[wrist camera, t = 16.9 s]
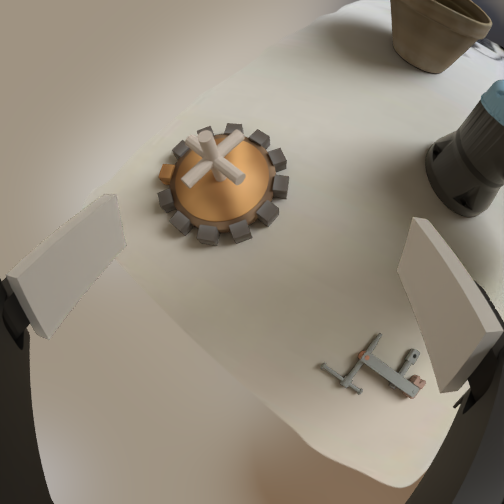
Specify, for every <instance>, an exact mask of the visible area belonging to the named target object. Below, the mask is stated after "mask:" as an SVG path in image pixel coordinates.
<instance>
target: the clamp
mask: <svg viewBox="0 0 504 504" xmlns="http://www.w3.org/2000/svg"><path fill="white" fill-rule="evenodd" d="M381 336H382V334H381V333H379V334H378V336H377V337H376V339H375V340H373V341H372V343H371V344H370V346H369V347H368V349H367V350H366V351H361V352H360V353H359V355H358V358H359V359H360V360H359V361H358V362H357V364H356V365H355V367H354V368H353V369H352V370H351V372H350V373H349V374H348V376H346V375H345V377H344V378H343V377H342V376H340V375H339V374H337V373H336V372H335V371H333V370H332V369H330V368H329V367H328V366H326V363H323V364H322V365H321V369H323V368H324V369H325V370H327V371H328V372H329V373H331V374H332V375H334V376H335V377H336V378H338V379H339V380H341V382H340V384H341V385H342V386H344V387H345V388H347V387H348V386H349V387H351V388H352V389H354V390H355V391H357V394H358V395H359V394H361V393H362V391H363V389H359V388H357V387H356V386H355V385H353V384H352V383H351V382H352V381H353V380H351V379H352V378H353V377H354V375H355V374H356V373H357V371H358V370H359V369H360V367H361V366H362V365H363V363H365V364H366V365H368V366H369V367H370V368H372V369H373V370H375V371H376V372H377V373H379V374H380V375H381V376H382V377H383V378H385V379H386V380H388V381H389V382H390V384H389V386H390V387H391V388H393V389H396V387H397V388H399V389H400V390H402V391H403V394H404V395H406V396H407V397H409V398H411V399H413V398H415V396H416V395H417V394H418V392H419V391H420V389H422V388H423V387H424V385H425V384H426V381H425V380H422V379H420V376H417V375H413V376H412V377H411V379H410V380H409V381H408V380H407V379H405V378H404V377H403V376H404V375H405V373H406V372H407V370H408V369H409V367H410V366H411V364H413V365H414V363H415V362H416V360H417V358H418V357H419V355H420V352H419V351H418V350H416V349H411V351H410V352H409V354H408V355H407V357H406V358H405V360H407V361H406V362H405V364H404V365H403V367H402V368H401V370H400V371H399V372H398V373H397V372H396V371H394V370H393V369H392V368H390V367H389V366H388V365H386V364H385V363H384V362H382V361H381V360H380V359H378V358H377V357H375V356H374V355H373V354H371V352H372V351H373V349H374V348H375V346H376V345H377V344H378V341H379V339H380V338H381ZM413 355H414V356H413Z"/></svg>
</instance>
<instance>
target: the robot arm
mask: <svg viewBox="0 0 504 504" xmlns="http://www.w3.org/2000/svg"><path fill="white" fill-rule="evenodd" d="M426 171H427V175H428V178H429V181H430V183H431V185H432V187H433V189H434V191H435V192H436V194H437V195H438V197H439V198H440V199H441V201H442V202H443V203H444V204H445V205H446V206H447V207H449V208H450V209H451V210H452V211H454V212H456V213H457V214H460V215H462V216H466V217H474V216H477V215H479V214H480V213H482V212H483V211H485V210H486V209H487V208H488V207H489V206H490V204H491V203H492V201H493V199H494V198H495V196H496V194H497V193H498V191H499V189H500V187H501V186H503V185H504V80H498V81H496V82H495V83H493V85H492V86H491V87H490V88H489V89H488V91H487V92H485V93H483V95H482V96H481V100H480V101H479V103H478V104H477V105H476V107H475V108H474V109H473V111H472V112H471V113H470V115H469V116H468V117H467V119H466V120H465V121H464V122H463V124H462V125H461V126H460V127H459V129H458V130H457V131H455V132H453V133H450V134H448V135H446V136H444V137H442V138H440V139H438V140H437V141H436V142H435V143H434V144H433V145H432V147H431V148H430V149H429V151H428V153H427V156H426ZM126 246H127V245H126V241H125V236H124V231H123V226H122V221H121V216H120V210H119V205H118V199H117V194H104V195H102V196H101V197H100V198H98V199H97V200H95V201H94V202H93V203H91V204H90V205H88V206H87V207H86V208H84V209H83V210H82V211H80V212H79V213H78V214H76V215H75V216H74V217H72V218H71V219H70V220H68V221H67V222H66V223H65V224H63V225H62V226H61V227H60V228H58V229H57V230H56V231H55V232H53V233H52V234H51V235H50V236H49V237H47V238H46V239H45V240H44V241H43V242H41V243H40V244H39V245H38V246H37V247H35V248H34V249H33V250H32V251H31V252H30V253H29V254H28V255H26V256H25V257H24V258H23V259H22V260H21V261H20V262H19V263H18V264H17V265H15V266H14V267H13V268H12V269H11V270H10V271H9V272H8V273H7V274H6V278H5V279H4V280H3V281H1V279H0V504H54V503H53V501H52V499H51V497H50V494H49V491H48V487H47V484H46V480H45V476H44V472H43V468H42V464H41V459H40V455H39V450H38V445H37V439H36V433H35V427H34V418H33V410H32V400H31V388H30V362H29V361H30V359H29V348H30V343H29V342H30V335H29V332H28V330H27V329H26V328H27V326H28V325H29V324H31V326H32V327H33V329H34V331H35V332H36V334H37V335H39V336H41V337H43V338H46V339H48V340H50V339H51V337H52V336H53V334H54V333H55V332H56V330H57V329H58V328H59V326H60V325H61V324H62V322H63V321H64V320H65V318H66V317H67V316H68V314H69V313H70V312H71V311H72V309H73V308H74V307H75V305H76V304H77V303H78V302H79V300H80V299H81V298H82V297H83V295H84V294H85V293H86V292H87V291H88V289H89V288H90V287H91V286H92V284H93V283H94V282H95V281H96V280H97V279H98V277H99V276H100V275H101V274H102V273H103V272H104V270H105V269H106V268H107V267H108V266H109V265H110V263H111V262H112V261H113V260H114V259H115V258H116V257H117V256H118V254H119V253H120V252H121V251H122V250H123V249H124V248H125V247H126ZM397 273H398V275H399V277H400V280H401V282H402V284H403V287H404V289H405V291H406V294H407V296H408V299H409V301H410V304H411V306H412V309H413V312H414V314H415V317H416V319H417V322H418V325H419V328H420V330H421V333H422V336H423V339H424V342H425V345H426V348H427V351H428V354H429V357H430V360H431V363H432V367H433V370H434V373H435V377H436V380H437V384H438V387H439V391H440V393H446V392H453V391H458V390H459V389H460V388H461V387H462V385H463V384H464V383H465V382H466V381H467V380H468V382H469V385H470V388H469V389H468V391H467V392H466V393H465V394H464V395H463V396H462V397H461V398H460V399H459V400H458V401H457V402H456V403H455V405H454V406H453V408H456V407H457V406H458V405H459V404H461V405H460V407H459V410H458V412H457V414H456V417H455V419H454V421H453V423H452V425H451V427H450V430H449V432H448V434H447V436H446V438H445V440H444V442H443V443H442V445H441V447H440V449H439V451H438V453H437V455H436V456H435V458H434V460H433V462H432V463H431V465H430V467H429V468H428V470H427V472H426V473H425V475H424V477H423V478H422V480H421V481H420V483H419V484H418V486H417V487H416V489H415V490H414V492H413V493H412V495H411V496H410V498H409V499H408V500H407V502H406V503H405V504H504V322H503V320H502V318H501V317H500V315H499V313H498V311H497V310H496V309H495V306H494V305H493V303H492V302H491V301H490V298H489V297H488V295H487V294H486V292H485V291H484V289H483V288H482V287H481V286H480V285H479V284H477V283H476V282H475V281H474V280H473V279H472V277H471V276H470V275H469V273H468V272H467V270H466V269H465V267H464V266H463V264H462V263H461V262H460V260H459V259H458V258H457V256H456V255H455V253H454V252H453V251H452V249H451V248H450V247H449V245H448V244H447V243H446V242H445V240H444V239H443V238H442V236H441V235H440V234H439V233H438V231H437V230H436V229H435V228H434V226H433V225H432V224H431V223H430V222H429V220H428V219H424V218H417V217H412V221H411V225H410V229H409V232H408V236H407V239H406V242H405V246H404V249H403V252H402V255H401V259H400V262H399V265H398V268H397Z"/></svg>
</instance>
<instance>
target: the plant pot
mask: <svg viewBox="0 0 504 504" xmlns="http://www.w3.org/2000/svg"><path fill="white" fill-rule="evenodd" d="M390 2H391V16H392V39H393V47H394V49H395V51H396V52H397V53H398V54H399V55H400V56H401V57H402V58H403V59H404V60H406V61H407V62H408V63H410V64H411V65H413V66H415V67H417V68H419V69H421V70H424V71H427V72H430V73H442V72H443V71H445V70H446V69H447V68H448V67H449V66H451V65H452V64H453V63H454V62H455V61H456V60H457V59H458V58H459V57H460V56H461V55H463V54H464V53H465V52H466V51H467V50H468V49H469V48H470V47H471V46H472V45H473V44H474V43H475V42H476V41H477V40H478V39H484V38H485V37H486V35H487V33H488V32H489V30H490V28H491V26H492V21H491V20H490V18H489V17H488V15H486V13H485V12H484V11H483V10H482V9H481V8H480V7H478V6H477V5H476V4H474V3H473V2H472V1H471V0H390Z"/></svg>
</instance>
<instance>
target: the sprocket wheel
mask: <svg viewBox="0 0 504 504" xmlns="http://www.w3.org/2000/svg"><path fill="white" fill-rule="evenodd" d="M236 129H237V130H239V131H241V132H242V133H243V128H242V124H230V123H227V126H226V129H225V134H221V135H215V136H214V134H213V131H212V128H211V126H209V127H206V128H203V129H200V130H198V131H197V134H199V133H200V132H202V131H205V130H208V131H211V132H212V134H213V137H214V140H215V143H216V145H218V144H219V143H220V142H222V141H223V140H224V139H225V138H226V137H227V136H229V135H230V134H231V133H232V132H233V131H234V130H236ZM244 137H245V136H244ZM269 146H270V137H269V136H268V135H266V134H265V133H263V132H261V131H260V130H258V129H257V130H256V131H255V132H254V133H253V134H252V135H251V136H250V137H249V138H247V137H245V139H244V140H243V141H242V142H241V143H240V144H238V145H237V146H236V147H235V148H234V149H233V150H232V151H230V152H229V153H228V154H227V155H226V156H225V157H224V158H225V159H226V160H228V161H229V162H230V163H232V164H233V165H234V166H235V167H237V168H238V169H239V170H241V171H242V172H243V173H244V174H245V175H246V177H245V179H244V181H243V182H242V183H241V184H239V185H235V184H234V183H233V182H232V181H231V180H229V179H228V178H226V179H225V180H224V181H222V182H219V181H216V179H215V177H214V175H213V173H212V170H209V171H208V172H207V173H206V174H205V175H204V176H203V177H202V178H201V179H200V180H199V181H198V182H197V183H196V184H195V185H194V186H193V187H191V188H188V187H187V186H186V185H185V184H184V183H183V182H182V180H181V178H182V177H183V176H184V175H185V174H186V173H187V172H188V171H189V170H190V169H191V168H193V167H194V166H195V165H196V164H197V163H198V162H199V161H200V160H201V159H202V157H201V156H199V155H198V154H197V153H195V152H194V151H193V150H192V149H190V148H189V147H188V146H187V145H185V141H183V140H182V141H181V142H180V143H179V144H178V145H177V146H176V147H175V148H174V149H173V150H172V151H173V153H174V155H175V156H176V158H177V159H179V160H178V161H177V163H176V165H171V164H163V165H162V168H161V171H160V174H159V179H160V180H161V181H162V182H163V184H166V185H170V188H169V189H166V190H164V191H162V192H159V193H158V198H159V202H160V206H161V208H162V209H163V210H164V211H165V212H166V213H167V212H169V211H172V210H174V209H177V210H178V211H177V212H176V213H175V214H174V216H173V217H172V218H171V219H170V220H169V221H170V222H171V223H172V224H173V225H174V226H175V227H176V228H177V229H178V230H179V231H181V232H182V233H183V234H184V235H185V236H186V234H187V233H188V232H189V231H190V230H191V229H192V228H193V226H195V227H197V228H198V229H199V230H198V234H197V239H198V240H199V241H200V242H201V243H204V244H210V245H216V246H217V244H218V239H219V234H220V233H227V232H231V233H232V236H233V239H234V240H235V242H236V244H237V243H239V242H242V241H245V240H248V239H250V238H252V235H251V232H250V230H249V227H248V225H250V224H252V223H253V222H255V221H256V220H257V219H259V220H260V221H261V222H263V223H264V224H265V225H266V226H268V227H269V225H270V224H271V223H272V222H273V221H274V220H275V218H276V217H277V216H278V215H279V208H278V207H277V206H275V205H274V204H273V203H271V202H272V199H273V197H278V198H285V199H286V197H287V191H288V184H289V176H282V175H276V172H278V171H281V170H284V169H286V161H287V160H286V158H285V156H284V154H283V152H282V150H281V148H278V149H275V150H272V151H269V152H267V151H266V149H267V148H268V147H269Z"/></svg>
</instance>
